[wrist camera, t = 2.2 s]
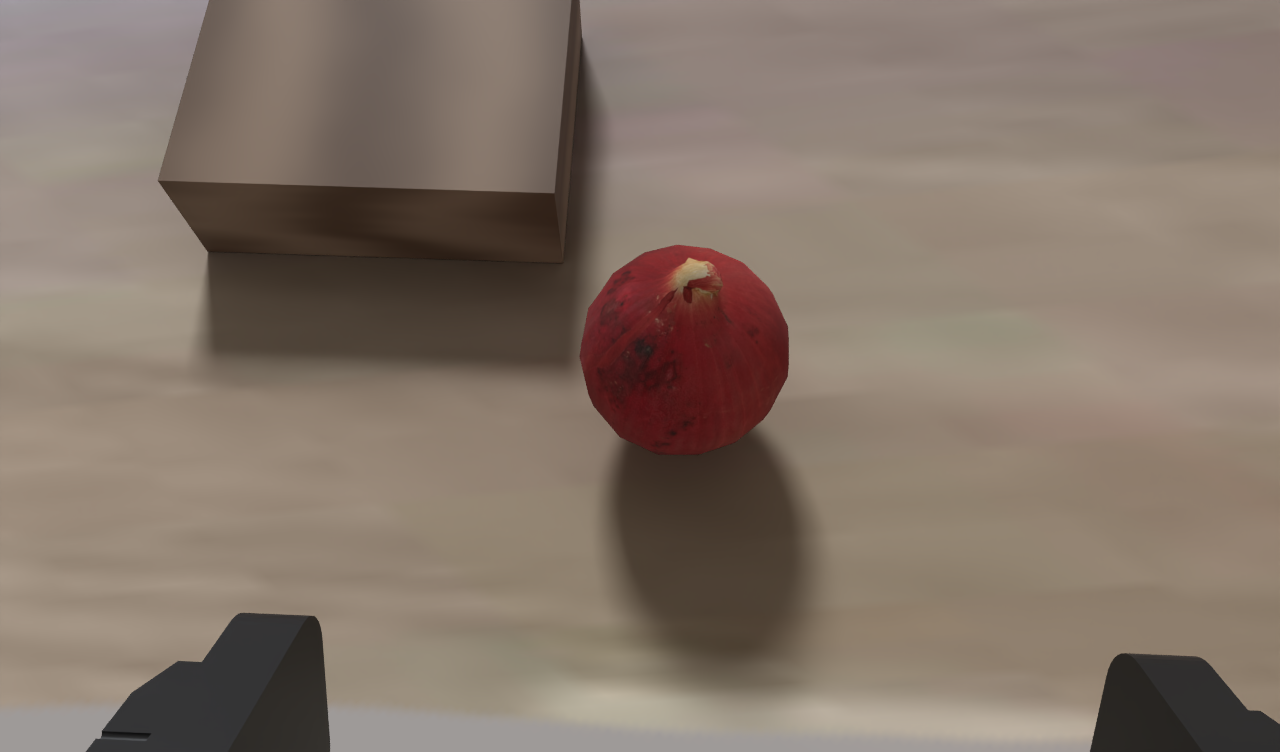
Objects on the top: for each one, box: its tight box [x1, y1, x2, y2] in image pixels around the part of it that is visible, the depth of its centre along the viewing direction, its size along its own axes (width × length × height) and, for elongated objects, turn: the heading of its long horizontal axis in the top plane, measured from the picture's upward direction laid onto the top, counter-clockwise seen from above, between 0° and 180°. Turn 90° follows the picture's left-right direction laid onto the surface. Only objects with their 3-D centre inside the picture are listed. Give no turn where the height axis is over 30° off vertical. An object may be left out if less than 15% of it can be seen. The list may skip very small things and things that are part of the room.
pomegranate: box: [580, 245, 789, 455], centre depth 29 cm, size 6×6×8 cm
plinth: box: [158, 0, 582, 263], centre depth 35 cm, size 12×10×4 cm
